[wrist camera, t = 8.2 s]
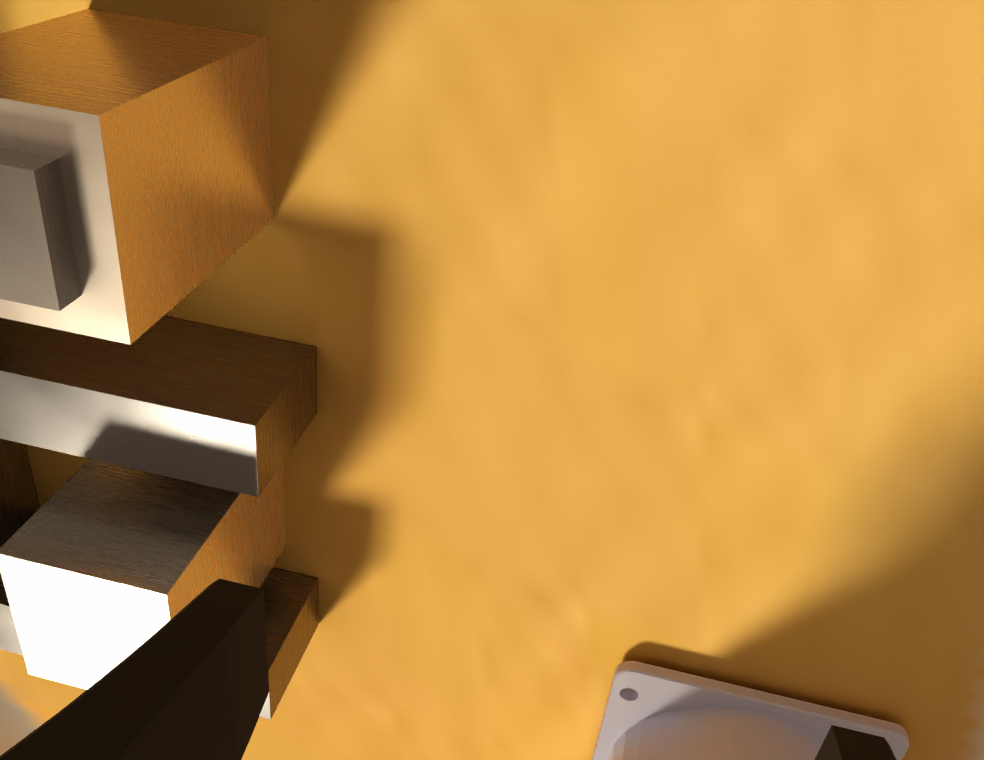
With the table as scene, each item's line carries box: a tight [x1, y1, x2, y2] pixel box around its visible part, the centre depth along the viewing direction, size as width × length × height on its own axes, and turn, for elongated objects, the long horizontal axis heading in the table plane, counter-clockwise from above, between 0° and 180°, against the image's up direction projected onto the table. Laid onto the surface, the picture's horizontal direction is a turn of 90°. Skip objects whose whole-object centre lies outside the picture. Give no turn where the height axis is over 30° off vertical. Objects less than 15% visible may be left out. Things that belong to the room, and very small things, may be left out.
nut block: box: [0, 9, 274, 345], centre depth 17 cm, size 4×4×7 cm
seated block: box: [0, 459, 286, 689], centre depth 23 cm, size 4×4×6 cm
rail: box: [0, 316, 318, 720], centre depth 21 cm, size 22×10×4 cm, turn 175°
